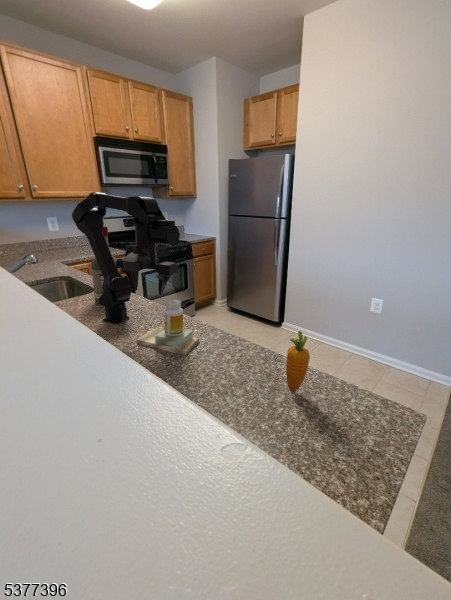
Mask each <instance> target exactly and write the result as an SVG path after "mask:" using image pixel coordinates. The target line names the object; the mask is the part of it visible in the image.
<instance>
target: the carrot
mask: <svg viewBox="0 0 451 600" xmlns="http://www.w3.org/2000/svg"><path fill="white" fill-rule="evenodd" d="M297 336H298V338H297V337H296V338H292V337H291V338H290V339H289V341H291V342H292V343H293V344H294V345H293V346H290V347H288V349H287V353H286V354H287V355H286V363H285V371H286V372H285V374H286V382H287V387H288V390H289V391H290V392H291V393H296V391H297V390H298V389H299V388H300V387H301V385H302V384H303V382H304V380H305V377H306V374H307V371H308V367H309V364H310V363H309V362H310V358H311V357H310V352H309V350H308V349H307V348H305V345H306V343H307V340H308V336H307V335H304V337H303V332H302V331H301V330H299V331H297Z"/></svg>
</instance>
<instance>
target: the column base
mask: <svg viewBox="0 0 451 600" xmlns="http://www.w3.org/2000/svg"><path fill="white" fill-rule="evenodd" d="M193 332H194V331H193V329H188V328H184V327H183V333H182V334H181V335H179V336H168V335H166V334H165V328H164V329H160V328H157V327H155V328H153V329H151V330H149V331H148V332H146V333H144V334H143V335H141V336H140V337H139V338H137V339H136V344H138V345H141V346H147V347H150V348H154V349H159V350H162V351H166V352H169V353H170V352H172V353H175V354H178V355H179V354H180V355H183V356H186V355H187V354H188V353H189V352H190V351H191V350H193V348H194V347H196V345H198V343H200V337H195V336H194V335H193Z"/></svg>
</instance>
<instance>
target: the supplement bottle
mask: <svg viewBox="0 0 451 600" xmlns="http://www.w3.org/2000/svg"><path fill="white" fill-rule="evenodd" d="M181 306H182V303H181V300H178V299H169V300H167V301H166V308H165V309H164V312H163V315H164V316H163V317H164V319H163V320H164V321H163V323H164V329H165V334H166V335H168V336H179V335H181V334H182V333H183V328H184V310H183V308H181Z"/></svg>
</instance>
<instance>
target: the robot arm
mask: <svg viewBox="0 0 451 600" xmlns="http://www.w3.org/2000/svg"><path fill="white" fill-rule="evenodd" d="M108 208H109V209H114V210H118V211H123V212H125V213H127V214H128V215H129V216H131V217H133V218H132V220H130V221H129V223H128V224H129V226H134V232H135V245H133V246H132V252H130V253H129V254H127V255H126V256H123V257H119V258H116V259H117V261H116V265H115V262H114V260H113V257H112V255H113V254H112V252H111V250H110V248H109V244H108V245H107V242H106V240H105V238H104V235H103V232H102V231H103V226H104V225H105V223H104V217H105V216H106V215H107V209H108ZM71 216H72V217H71V218H72V220H73V222H74V224H75V226H76V228H77V230H78V231H80V232H81V233H82V234H83V235H84V236H85V237H87V240H88V243H89V245H90V247H91V250H92V253H93V254H94V258H96V260H97V262H98V265H99V267H100V270H101V272H102V274H103V277H104V280H103V285H102V288H103V291H104V293H103V294H102V295H101V297H100V298H99V303H100V305H102V307H104V311H105V318H103V319H102V321H103V322H105V323H111V324H113V325H114V324H115V325H119V324H121V323H122V322H125V321H127V320H128V319H130V316H129V315H128V309H127V306H126V303H127V302H129V301H130V298H131V296H132V292H133V291H137V290H138V287H139V273H140V271H141V270H142V269H147V270H154V271H156V272H157V274H156V275H155V276H156V278H157V279H158V295H159V296H162V295H163V293H164V290H165V289H166V287H167V284H168V282H169V280H170V278H171V277H172V276H173V275H175V274H176V273H179V266H178V264H177V262H172V261H164V262H160V258H157V250H158V249H159V246H160V245H165V246H170V247H174V246H177V244H178V243H179V241H180V239H181V238H180V237H181V234H180V233H181V232H180V230H179V227H178V226H177V225H176V221H175V220H173V219H172V220H171V219H170V220H167V219H166V217H165V215H164V214H163V212H162V210H161V208H160V207H159V203H158V201H157V199H156V198H154V197H153V196H151V197H150V196H138V195H135V196H127V197H125V196H120V195H113V194H107V193H106V192H96V191H93V192H90V193H89V194H88V196H87V197H86V198H85V199H83V200H82V201H80V202H78V204H76V207H75V208H74V209H73V211H72V213H71ZM111 254H112V255H111ZM117 268H119V272H118V270H117ZM120 272H123V273H124V274H126V275H122V274H121V273H120ZM132 289H133V291H132ZM100 305H99V306H100Z"/></svg>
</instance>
